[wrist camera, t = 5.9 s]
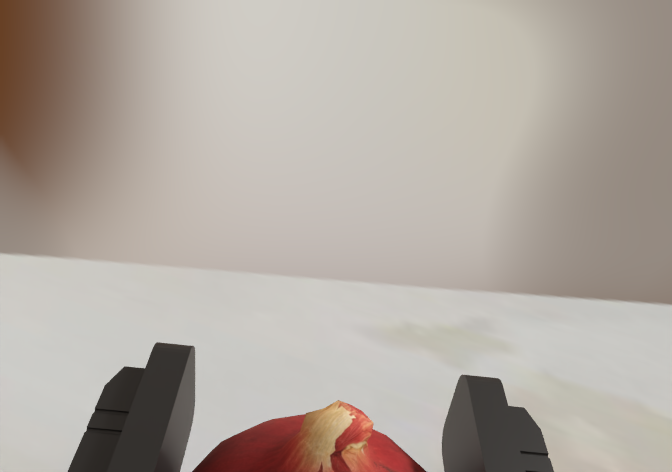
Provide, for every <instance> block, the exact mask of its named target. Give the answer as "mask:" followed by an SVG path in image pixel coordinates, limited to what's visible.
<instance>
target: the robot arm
mask: <svg viewBox="0 0 672 472" xmlns="http://www.w3.org/2000/svg"><path fill="white" fill-rule="evenodd" d="M194 406H195V348H194V346H187V345H177V344H167V343H158V342H157V343H156V344H155V345H154V347H153V350H152V352H151V355H150V358H149V360H148V363H147V366H146V368H145V369H144V368H134V367H124V368H123V369H122V370H121V371H119V372H118V373H117V374H116V375H115V376H114V377H113V378H112V379H111V380H110V381H109V382H108V383H107V384H106V385H105V387H104V389H103V391H102V394H101V396H100V398H99V401H98V403H97V405H96V407H95V412H94V413H93V414H92V417H91V419H90V421H89V424H88V426H87V431H86V432H85V433H84V435H83V437H82V440H81V442H80V444H79V447H78V449H77V451H76V454H75V456H74V458H73V460H72V463H71V465H70V467H69V470H68V472H180V469H181V465H182V461H183V458H184V454H185V450H186V446H187V442H188V439H189V435H190V431H191V426H192V421H193V415H194ZM442 456H443V463H444V471H445V472H554V470H553V467H552V464H551V461H550V458H548V451H547V448H546V445H545V441H544V438H543V435H542V432H541V429H540V428H539V427H538V425H537V424H536V423H535V421H534V420H533V419H532V417H531V416H530V415H529V413H528V412H527V411H526V410H525V408H522V407H512V406H508V404H507V400H506V396H505V392H504V389H503V385H502V383H501V381H500V379H498V378H489V377H480V376H470V375H461V376H460V378H459V380H458V383H457V386H456V389H455V393H454V396H453V399H452V402H451V405H450V408H449V411H448V415H447V418H446V421H445V424H444V429H443V436H442Z"/></svg>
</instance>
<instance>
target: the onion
mask: <svg viewBox="0 0 672 472" xmlns="http://www.w3.org/2000/svg"><path fill="white" fill-rule="evenodd" d="M372 428H373V422H372V421H371V420H370V419H369V418H368V417H367V416H366V415H365V414H364V413H363V412H362V411H361V410H359V409H357V408H355V407H354V406H352V405H349V404H347V403H344V402H341V401H339V400H338V401H336V402H335V403H333V404H331V405H329V406H328V407H326V408H324V409H320V410H317V411H313V412H309V413H306V414H304V415H298V416H291V417H284V418H278V419H272V420H269V421H266V422H263V423H261V424H259V425H257V426H254V427H252V428H250V429H248V430H245V431H243V432H241V433H239V434H237V435H234V436H232V437H230V438H228V439H226V440H224V441H222V442H221V443H220V444H219V445H218V446H217V447H215V448H214V449H213V450H212V451H211V452H210V453H209V454H208V455H207V456H206V458H205V459H204V460H203V461H202V462H201V463H200V464H199V465H198V466H197V467H196V468H195V469H194V470H193V471H192V472H426V471H425V470H424V469H423V468H422V467H421V466H420V465H419V464H418V463H416V462H415V461H414V460H413V459H412V458H411V457H410V456H409V455H408V454H407V453H405V452H404V451H403V450H402V449H401V448H400V447H399V446H398V445H397V444H396V443H395V442H393V441H392V440H391V439H390V438H389V437H387V436H386V435H384V434H382V433H380V432H377V431H375V430H373V429H372Z"/></svg>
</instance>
